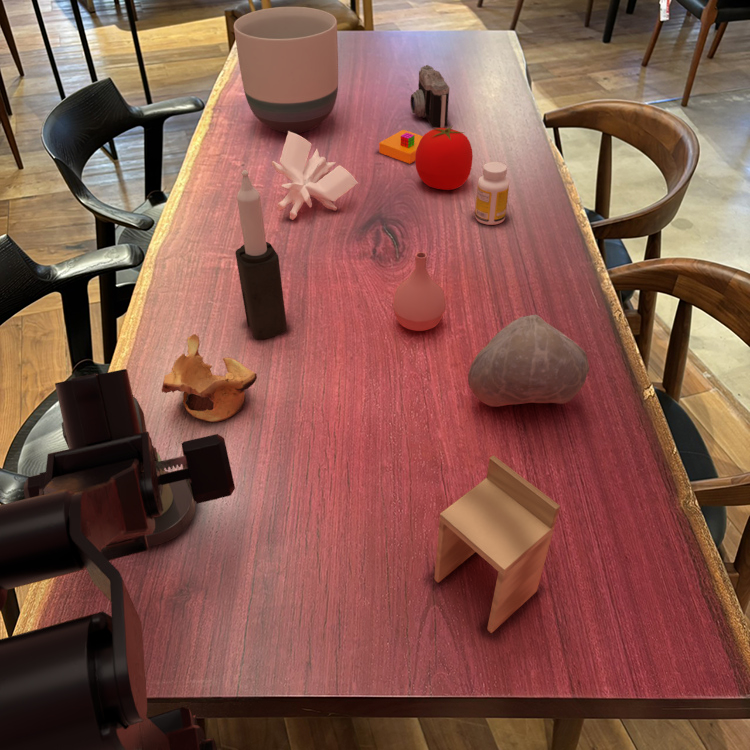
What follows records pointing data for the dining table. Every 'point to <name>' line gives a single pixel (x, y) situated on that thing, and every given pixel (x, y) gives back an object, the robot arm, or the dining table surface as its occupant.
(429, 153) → the tomato
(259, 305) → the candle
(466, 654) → the dining table surface
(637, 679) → the dining table surface
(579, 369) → the decorative stone
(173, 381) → the bone
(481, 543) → the miniature wooden chair
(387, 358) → the dining table surface
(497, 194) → the supplement bottle
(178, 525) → the trivet
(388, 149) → the orange square tile
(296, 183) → the figurine
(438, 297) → the pink bud vase
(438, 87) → the camera
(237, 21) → the planter
